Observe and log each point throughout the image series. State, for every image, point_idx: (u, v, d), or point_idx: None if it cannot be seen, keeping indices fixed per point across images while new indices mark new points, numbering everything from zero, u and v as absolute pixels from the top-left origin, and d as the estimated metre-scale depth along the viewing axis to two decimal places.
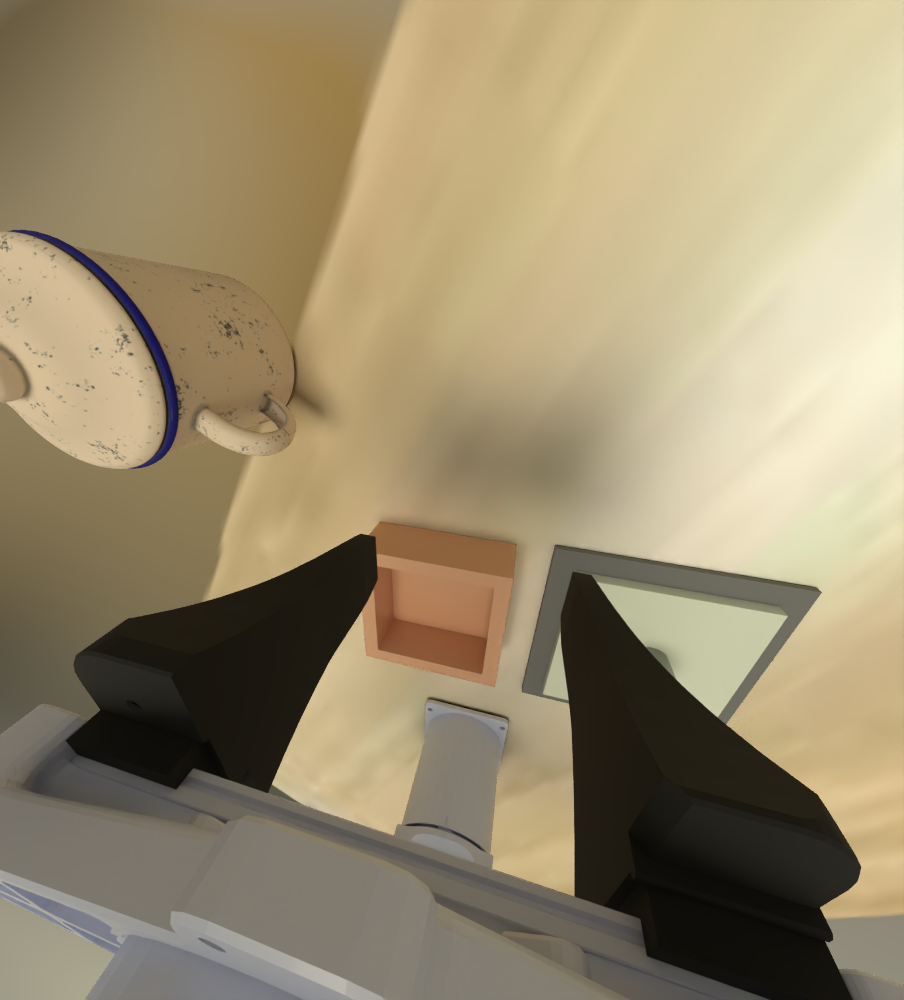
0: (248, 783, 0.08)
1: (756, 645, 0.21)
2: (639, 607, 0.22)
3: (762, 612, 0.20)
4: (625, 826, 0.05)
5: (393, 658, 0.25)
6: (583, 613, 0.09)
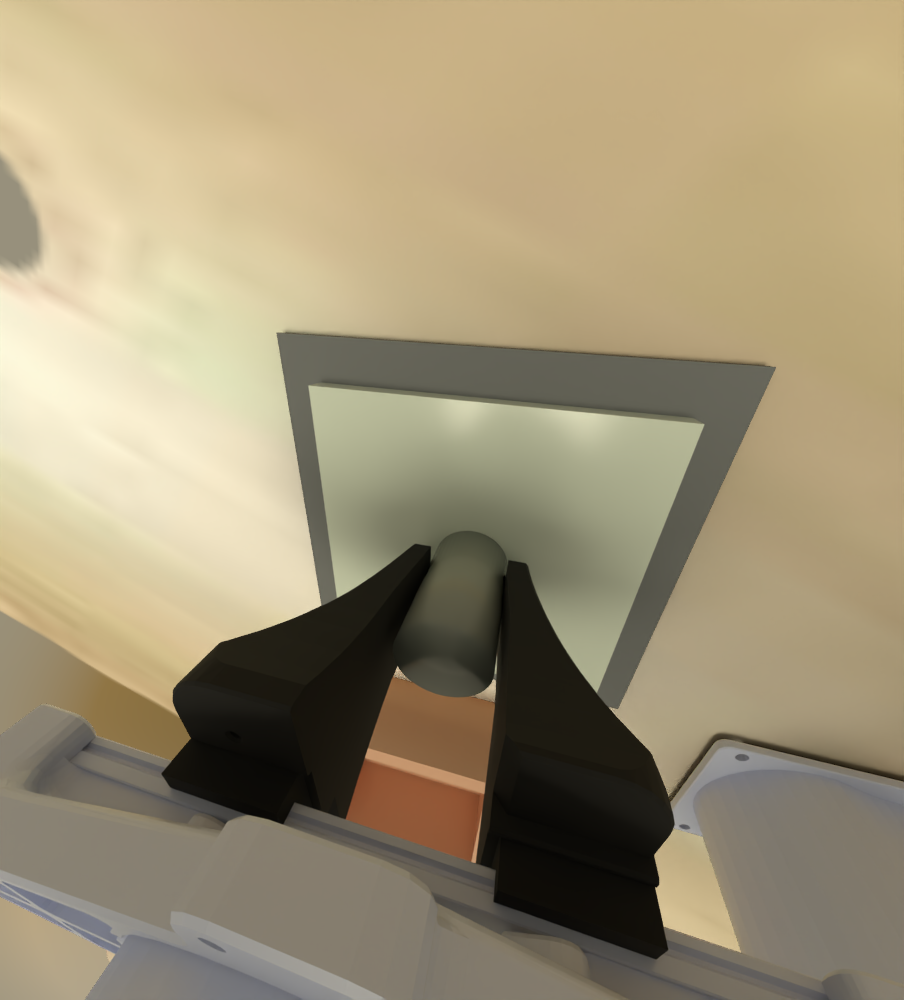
0: (332, 812, 0.07)
1: (383, 410, 0.11)
2: (363, 575, 0.14)
3: (315, 424, 0.12)
4: (493, 787, 0.06)
5: None
6: (507, 598, 0.10)
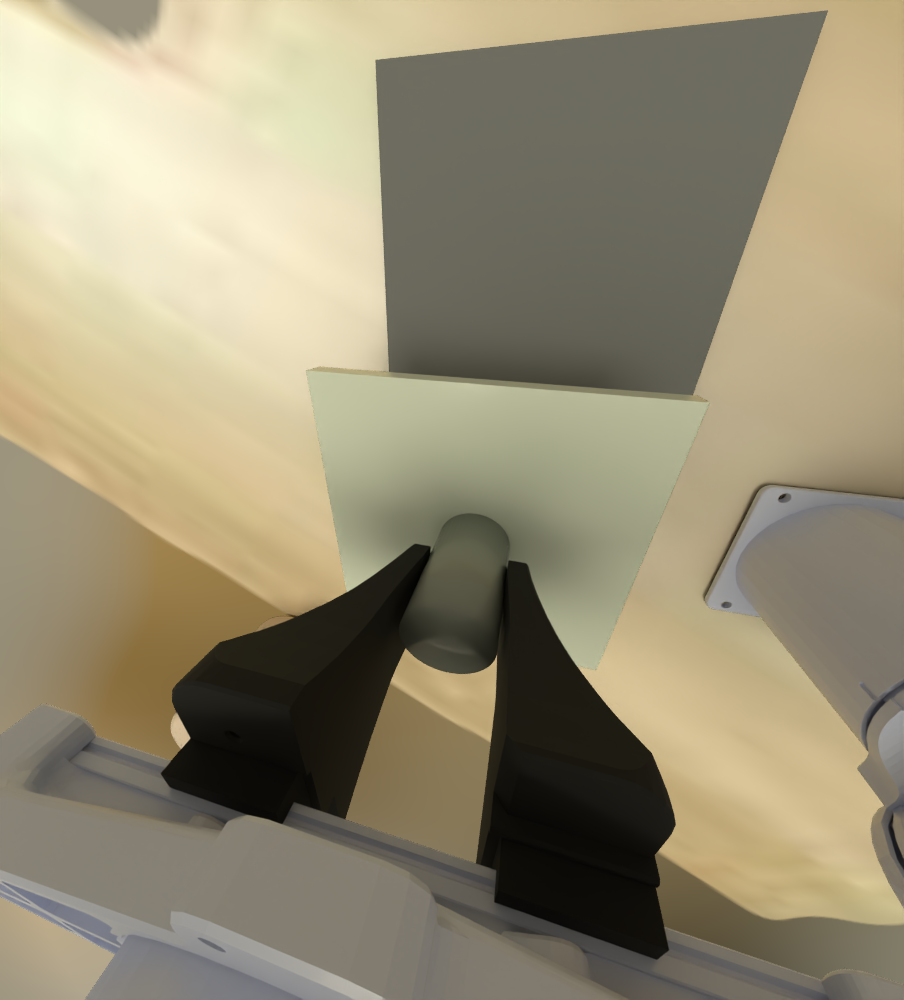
0: (331, 812, 0.07)
1: (382, 394, 0.11)
2: (368, 558, 0.15)
3: (314, 409, 0.12)
4: (494, 787, 0.06)
5: None
6: (507, 598, 0.10)
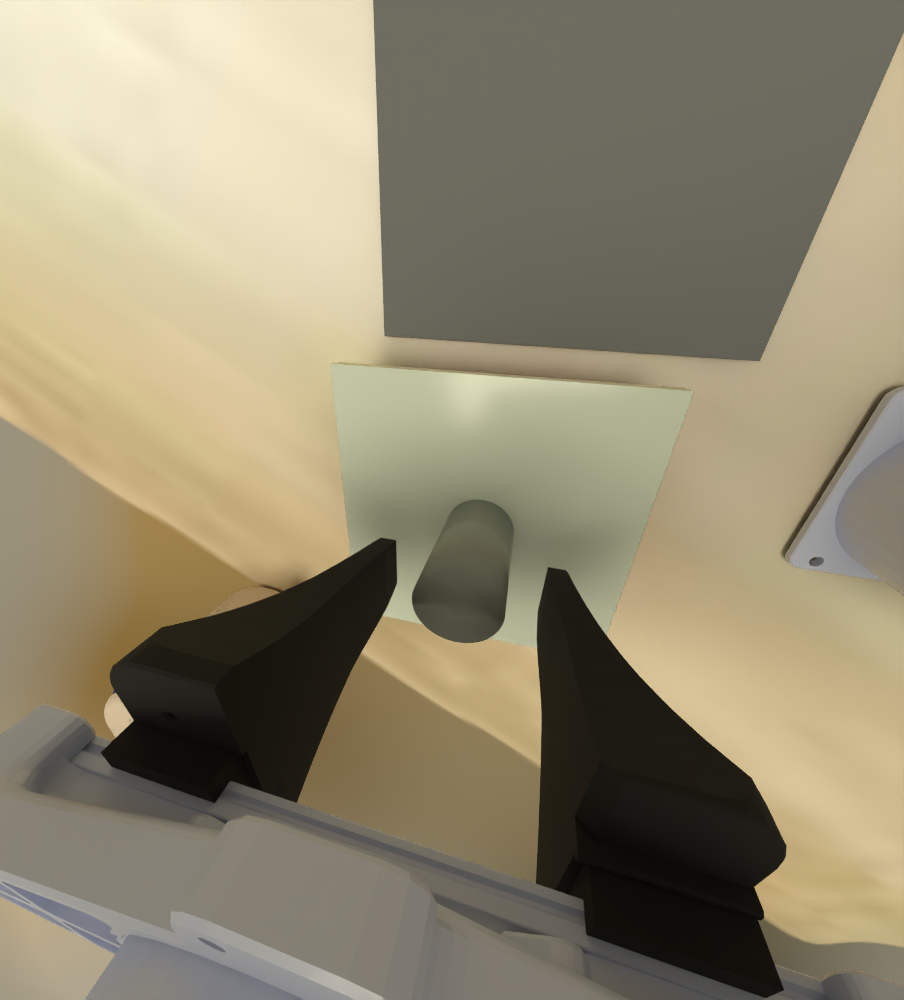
0: (279, 793, 0.08)
1: (399, 385, 0.12)
2: None
3: (335, 400, 0.13)
4: (573, 811, 0.06)
5: None
6: (553, 607, 0.09)
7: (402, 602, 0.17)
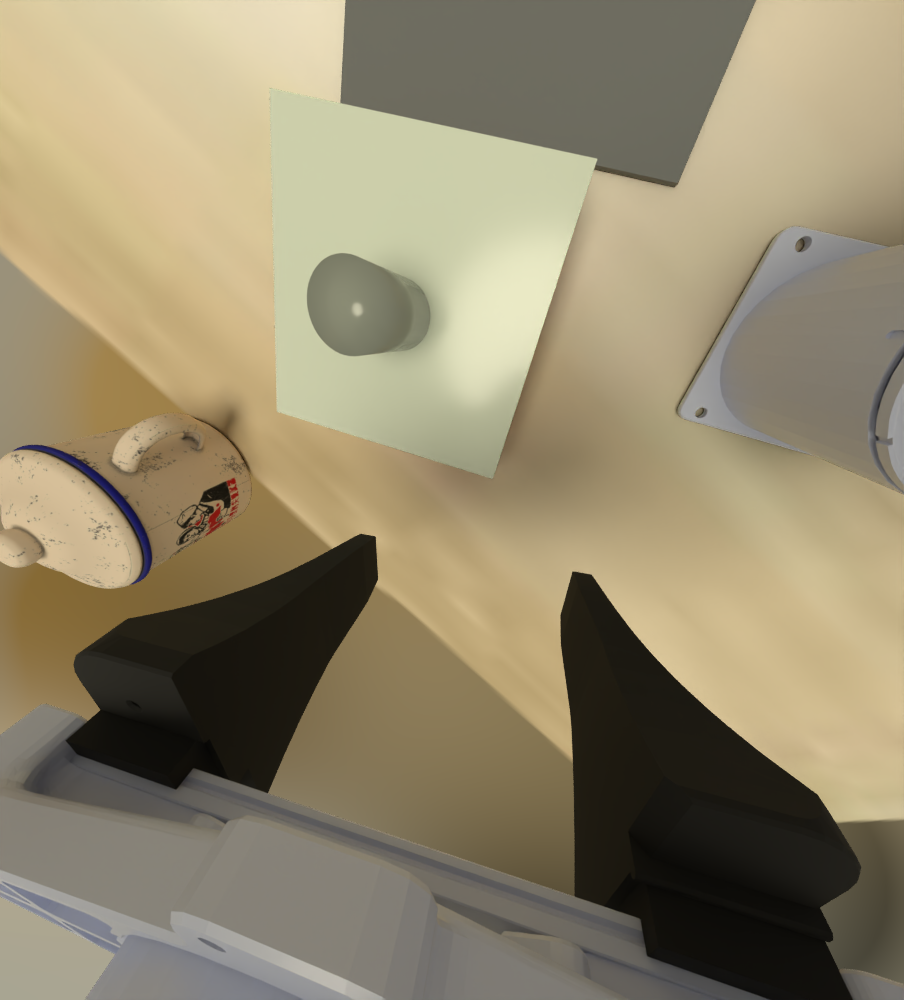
0: (248, 783, 0.08)
1: (336, 124, 0.12)
2: (302, 331, 0.16)
3: (272, 137, 0.13)
4: (625, 826, 0.05)
5: None
6: (583, 613, 0.09)
7: (321, 403, 0.17)
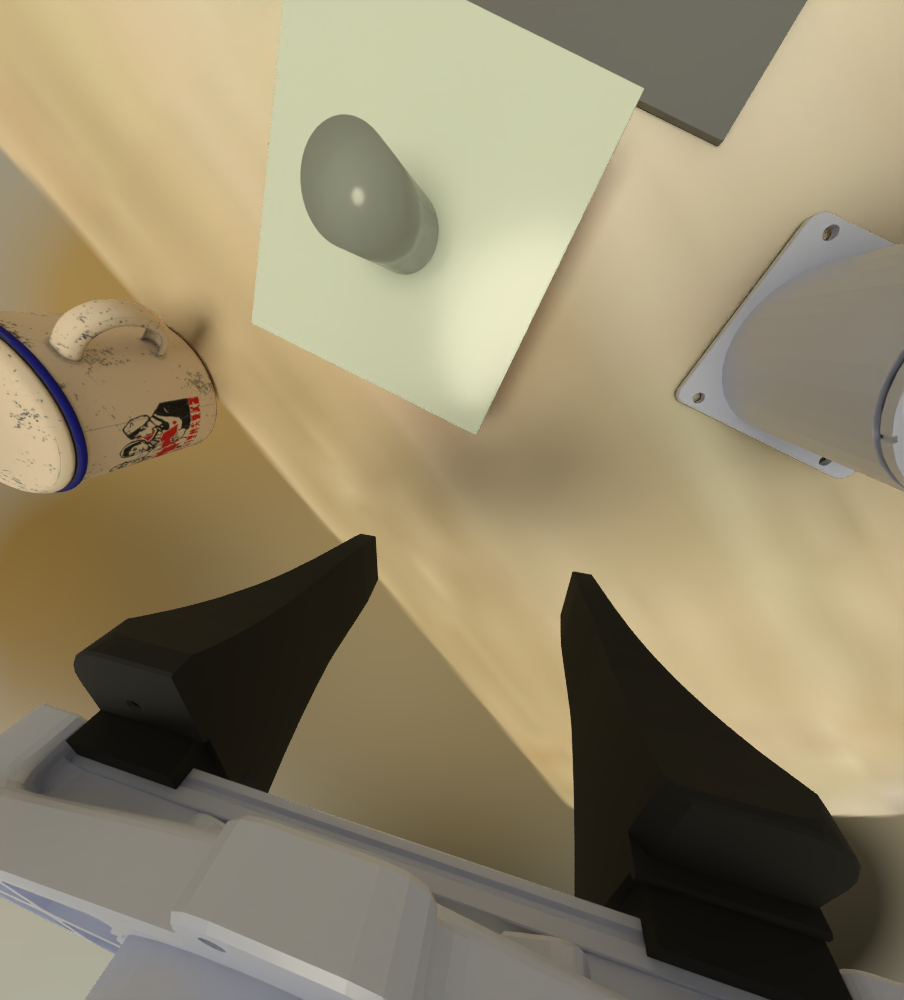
0: (248, 783, 0.08)
1: None
2: (292, 232, 0.14)
3: None
4: (625, 826, 0.05)
5: None
6: (583, 613, 0.09)
7: (303, 321, 0.15)
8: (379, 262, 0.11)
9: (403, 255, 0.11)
